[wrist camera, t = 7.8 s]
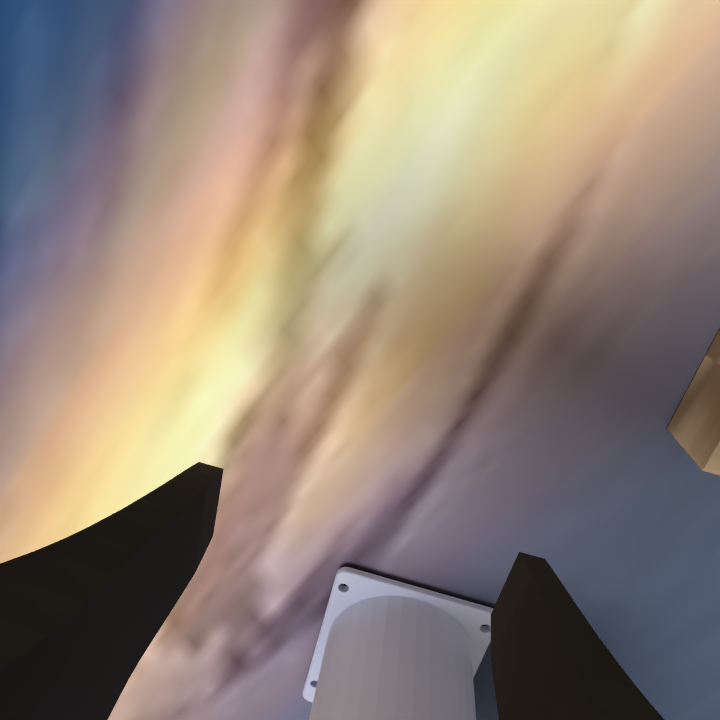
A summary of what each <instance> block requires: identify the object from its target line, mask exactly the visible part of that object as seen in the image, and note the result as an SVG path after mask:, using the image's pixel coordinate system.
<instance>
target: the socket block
mask: <svg viewBox="0 0 720 720" xmlns="http://www.w3.org/2000/svg"><path fill="white" fill-rule="evenodd" d="M667 430H668V431H669V432H670V433H671V434H672V436H673V437H674V438H675V439H676V440H677V441H678V443H679V444H680V445H681V446H682V447H683V448H684V450H685V451H686V452H687V453H688V454H689V455H690V457H691V458H692V459H693V460H694V461H695V463H696V464H697V465H698V466H699V467H700V468H701V470H702V471H705V472H709V473H713V474H716V475H720V329H719V331H718V333H717V335H716V337H715V339H714V341H713V343H712V344H711V346H710V348H709V350H708V352H707V354H706V356H705V358H704V359H703V361H702V363H701V365H700V367H699V369H698V371H697V373H696V374H695V376H694V378H693V380H692V382H691V384H690V386H689V388H688V389H687V391H686V393H685V395H684V397H683V399H682V401H681V403H680V404H679V406H678V408H677V410H676V412H675V414H674V416H673V418H672V419H671V421H670V423H669V425H668V427H667Z"/></svg>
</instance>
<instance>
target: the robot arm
mask: <svg viewBox="0 0 720 720" xmlns="http://www.w3.org/2000/svg"><path fill="white" fill-rule="evenodd" d="M222 475H223V469H222V468H218V467H214V466H211V465H207V464H204V463H200V462H198V463H197V464H195V465H193V466H191V467H190V468H188V469H187V470H185V471H183V472H182V473H180V474H179V475H177V476H176V477H174V478H173V479H171V480H169V481H168V482H166V483H165V484H163V485H162V486H160V487H158V488H157V489H155V490H154V491H152V492H150V493H149V494H147V495H145V496H144V497H142V498H140V499H139V500H137V501H135V502H133V503H132V504H130V505H128V506H127V507H125V508H123V509H121V510H120V511H118V512H116V513H114V514H112V515H110V516H108V517H106V518H105V519H103V520H101V521H99V522H97V523H95V524H93V525H91V526H90V527H88V528H86V529H83V530H81V531H79V532H77V533H75V534H73V535H71V536H69V537H67V538H65V539H62V540H60V541H58V542H55V543H53V544H51V545H48V546H46V547H44V548H41V549H39V550H36V551H34V552H31V553H28V554H26V555H23V556H20V557H17V558H15V559H12V560H9V561H6V562H4V563H1V564H0V720H107V719H108V718H109V716H110V714H111V712H112V710H113V708H114V706H115V704H116V702H117V700H118V698H119V696H120V694H121V693H122V691H123V689H124V687H125V685H126V683H127V681H128V679H129V677H130V676H131V674H132V672H133V671H134V669H135V667H136V666H137V664H138V662H139V660H140V659H141V657H142V656H143V654H144V653H145V651H146V649H147V648H148V646H149V645H150V643H151V642H152V640H153V638H154V637H155V635H156V634H157V632H158V631H159V629H160V627H161V626H162V624H163V623H164V621H165V620H166V618H167V617H168V615H169V613H170V612H171V610H172V609H173V607H174V606H175V604H176V602H177V601H178V599H179V598H180V596H181V595H182V593H183V591H184V590H185V588H186V587H187V585H188V583H189V582H190V580H191V579H192V577H193V575H194V574H195V572H196V570H197V568H198V566H199V564H200V562H201V560H202V558H203V556H204V553H205V551H206V549H207V547H208V545H209V543H210V541H211V539H212V537H213V532H214V526H215V519H216V513H217V507H218V500H219V494H220V487H221V481H222ZM341 584H346V585H347V586H343V585H341ZM484 624H485V625H487V626H482V625H484ZM490 641H491V661H492V670H493V677H494V685H495V693H496V700H497V707H498V715H499V720H664V719H663V718H662V716H661V715H660V714H659V713H658V712H657V711H656V710H655V708H654V707H653V706H652V705H651V704H650V703H649V701H648V700H647V699H646V698H645V697H644V695H643V694H642V693H641V692H640V691H639V689H638V688H637V687H636V686H635V684H634V683H633V682H632V680H631V679H630V678H629V677H628V675H627V674H626V673H625V671H624V670H623V669H622V668H621V666H620V665H619V664H618V662H617V661H616V660H615V659H614V657H613V656H612V655H611V653H610V652H609V650H608V649H607V648H606V646H605V645H604V644H603V642H602V641H601V640H600V638H599V637H598V635H597V634H596V633H595V631H594V630H593V628H592V627H591V625H590V624H589V623H588V621H587V620H586V618H585V617H584V615H583V614H582V612H581V611H580V610H579V608H578V607H577V605H576V604H575V602H574V601H573V599H572V598H571V596H570V595H569V593H568V592H567V590H566V589H565V587H564V586H563V584H562V583H561V581H560V580H559V578H558V577H557V575H556V574H555V573H554V571H553V570H552V568H551V567H550V565H549V564H548V563H547V561H546V560H545V559H543V558H539V557H536V556H532V555H529V554H525V553H521V552H519V554H518V556H517V558H516V560H515V562H514V565H513V567H512V569H511V571H510V573H509V576H508V578H507V580H506V582H505V584H504V587H503V589H502V591H501V593H500V595H499V598H498V600H497V602H496V604H495V606H494V609H493V608H490V607H487V606H483V605H480V604H476V603H473V602H469V601H466V600H462V599H459V598H455V597H452V596H448V595H445V594H441V593H438V592H434V591H431V590H427V589H424V588H420V587H417V586H413V585H410V584H406V583H403V582H399V581H396V580H392V579H389V578H385V577H382V576H378V575H375V574H371V573H367V572H364V571H360V570H357V569H353V568H350V567H341V568H340V569H338V571H337V573H336V577H335V580H334V584H333V588H332V591H331V595H330V598H329V602H328V605H327V609H326V612H325V616H324V619H323V623H322V626H321V630H320V633H319V637H318V640H317V644H316V647H315V651H314V655H313V658H312V662H311V665H310V669H309V672H308V676H307V679H306V683H305V686H304V690H303V697H304V698H305V699H306V700H307V701H309V702H312V703H313V704H312V709H311V713H310V718H309V720H476V709H475V695H474V682H473V678H474V676H475V674H476V671H477V669H478V667H479V665H480V663H481V661H482V659H483V656H484V654H485V652H486V650H487V648H488V646H489V644H490Z"/></svg>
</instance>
